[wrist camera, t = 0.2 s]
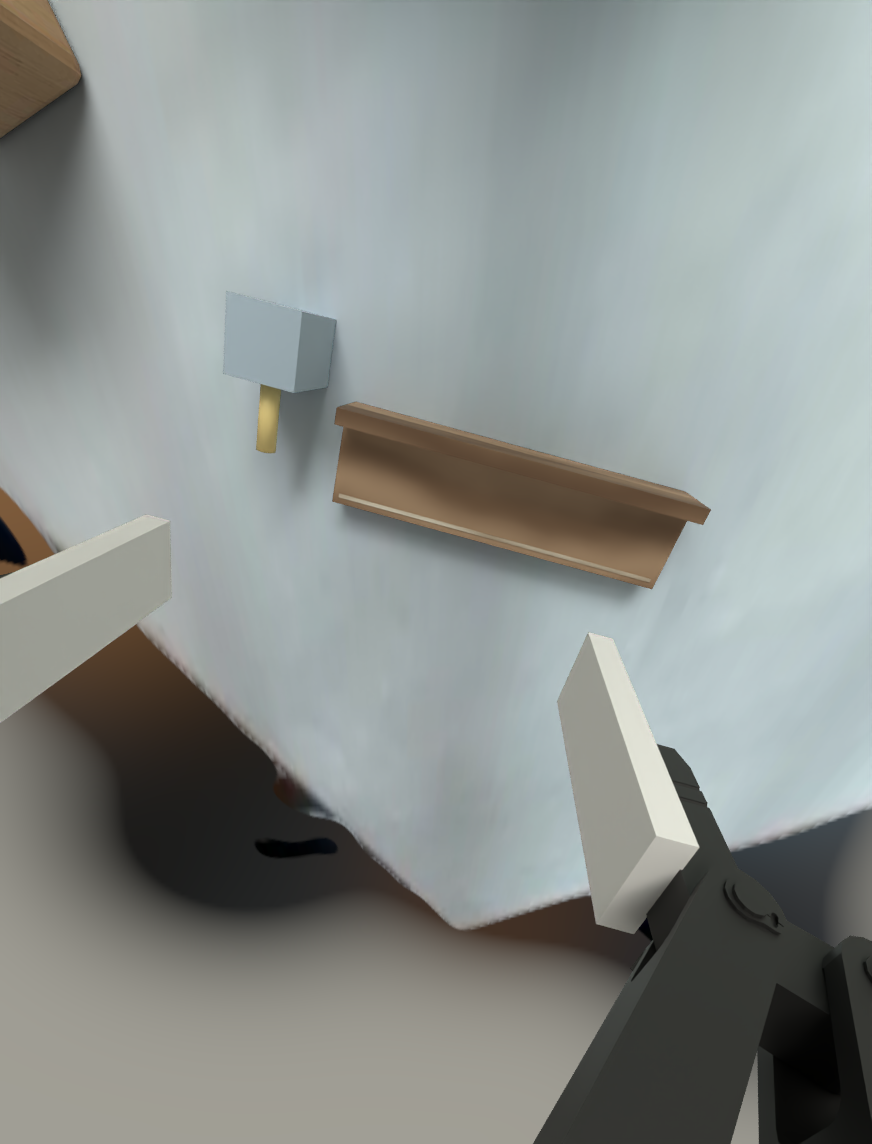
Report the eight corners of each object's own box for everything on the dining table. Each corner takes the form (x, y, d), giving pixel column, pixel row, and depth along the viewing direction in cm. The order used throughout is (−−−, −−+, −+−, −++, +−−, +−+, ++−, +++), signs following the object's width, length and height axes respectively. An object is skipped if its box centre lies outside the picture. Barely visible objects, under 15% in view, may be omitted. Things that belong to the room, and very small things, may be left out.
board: (355, 401, 38) (336, 407, 34) (685, 491, 38) (711, 509, 33) (341, 493, 42) (322, 510, 37) (643, 576, 41) (661, 603, 37)
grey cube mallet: (274, 302, 36) (226, 290, 30) (336, 319, 36) (302, 311, 30) (264, 432, 40) (220, 446, 34) (319, 447, 40) (286, 464, 34)
